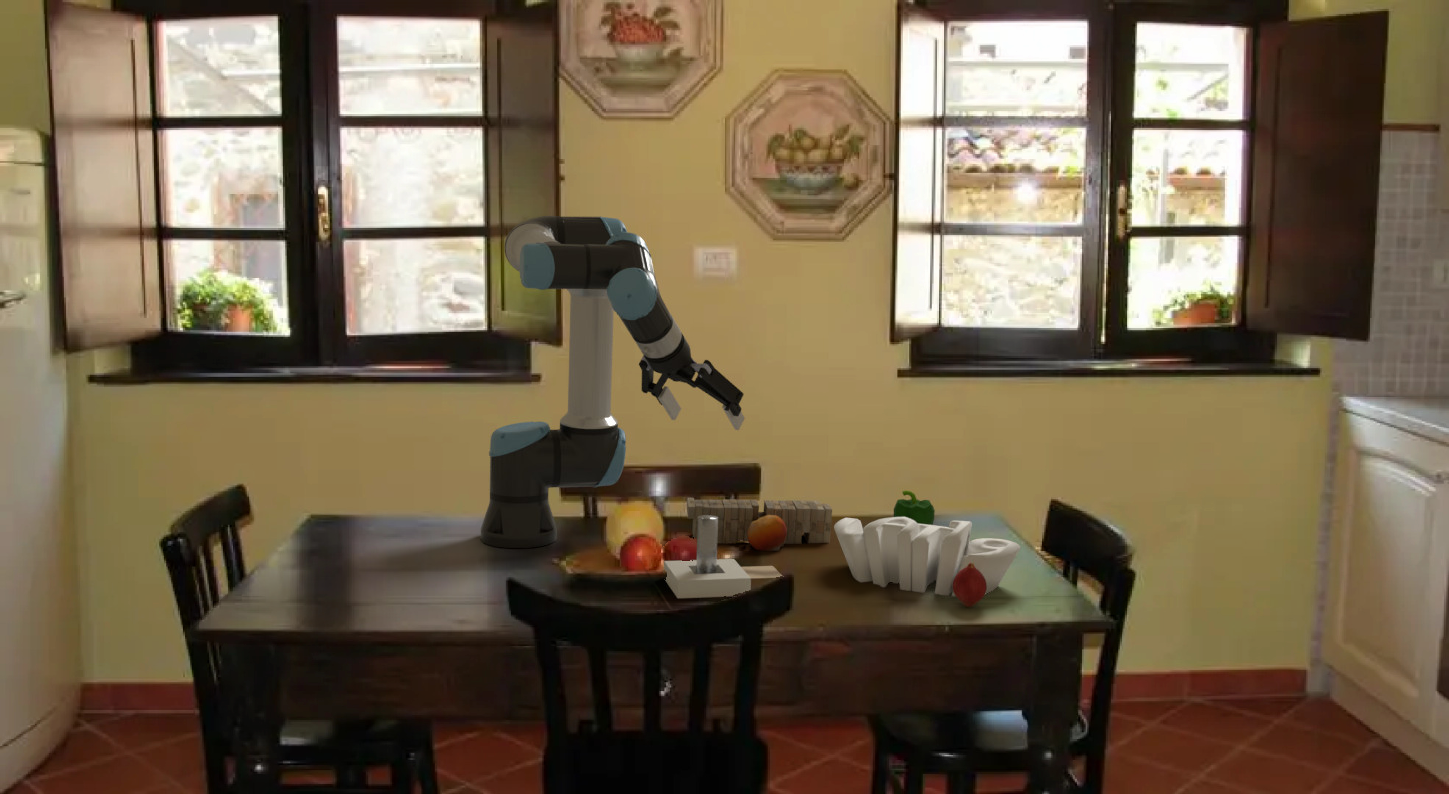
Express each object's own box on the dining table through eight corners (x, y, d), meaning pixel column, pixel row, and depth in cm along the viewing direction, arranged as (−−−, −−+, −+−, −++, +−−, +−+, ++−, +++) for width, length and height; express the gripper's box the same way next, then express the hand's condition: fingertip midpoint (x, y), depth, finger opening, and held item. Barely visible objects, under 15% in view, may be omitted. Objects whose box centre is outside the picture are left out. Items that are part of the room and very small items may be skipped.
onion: (948, 602, 244) (950, 557, 243) (980, 602, 244) (982, 558, 243) (956, 612, 238) (958, 566, 237) (989, 612, 239) (991, 566, 238)
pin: (694, 586, 249) (695, 515, 247) (713, 585, 250) (715, 515, 248) (698, 591, 246) (700, 520, 244) (717, 591, 246) (720, 519, 245)
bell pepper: (939, 537, 291) (942, 490, 289) (923, 545, 284) (925, 497, 282) (903, 531, 295) (905, 485, 294) (886, 538, 288) (888, 491, 287)
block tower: (823, 540, 290) (684, 534, 288) (826, 500, 289) (686, 494, 286) (829, 549, 282) (686, 543, 280) (832, 509, 281) (688, 503, 279)
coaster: (731, 569, 261) (731, 567, 261) (772, 567, 263) (772, 565, 263) (741, 580, 253) (741, 578, 253) (783, 579, 255) (783, 577, 255)
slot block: (663, 579, 253) (664, 561, 252) (733, 577, 256) (733, 558, 255) (677, 600, 240) (678, 580, 240) (750, 597, 243) (750, 578, 243)
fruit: (792, 549, 272) (773, 513, 272) (758, 566, 274) (738, 531, 273) (798, 539, 280) (779, 504, 279) (765, 556, 281) (745, 522, 281)
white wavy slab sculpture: (815, 578, 257) (817, 522, 255) (844, 558, 272) (846, 505, 270) (1003, 606, 243) (1006, 547, 241) (1022, 583, 258) (1026, 527, 256)
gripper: (593, 353, 239) (642, 426, 254) (715, 368, 226) (759, 445, 241) (612, 319, 242) (659, 394, 257) (733, 333, 229) (775, 411, 244)
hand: (707, 419), depth 249 cm, fingers open, 13 cm apart
